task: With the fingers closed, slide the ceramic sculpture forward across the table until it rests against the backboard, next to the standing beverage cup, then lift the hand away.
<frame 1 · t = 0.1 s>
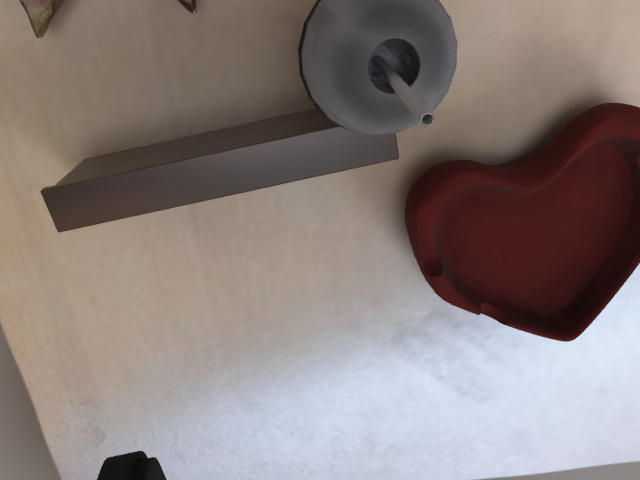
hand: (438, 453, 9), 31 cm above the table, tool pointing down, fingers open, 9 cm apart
backboard: (231, 142, 38), on the table
beverage cup: (346, 38, 36), on the table
ashtray: (523, 224, 43), on the table
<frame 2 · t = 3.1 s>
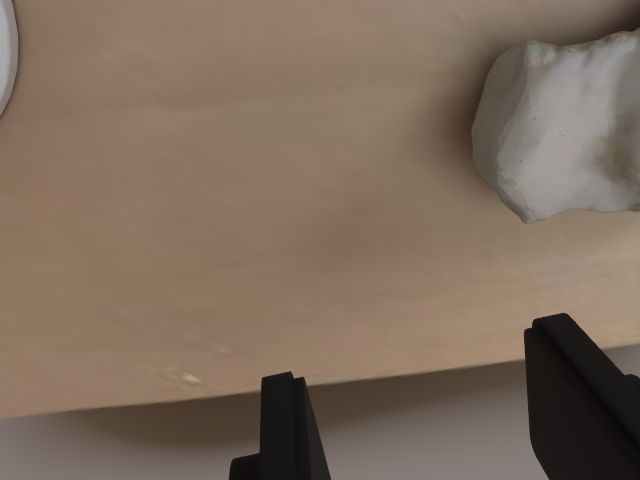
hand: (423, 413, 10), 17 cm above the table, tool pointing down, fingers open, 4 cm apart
ceramic sculpture: (592, 102, 26), on the table
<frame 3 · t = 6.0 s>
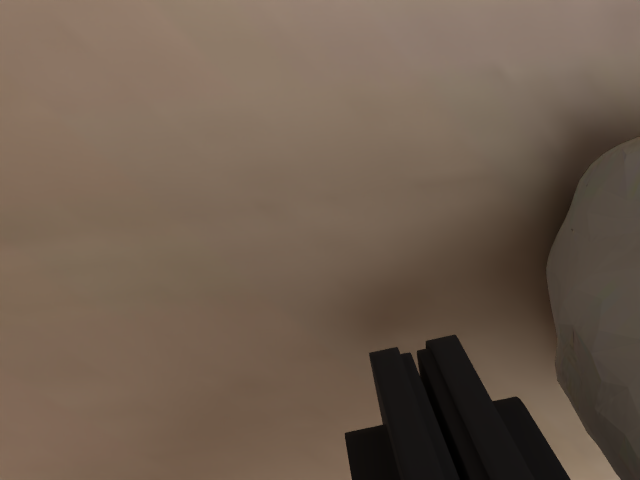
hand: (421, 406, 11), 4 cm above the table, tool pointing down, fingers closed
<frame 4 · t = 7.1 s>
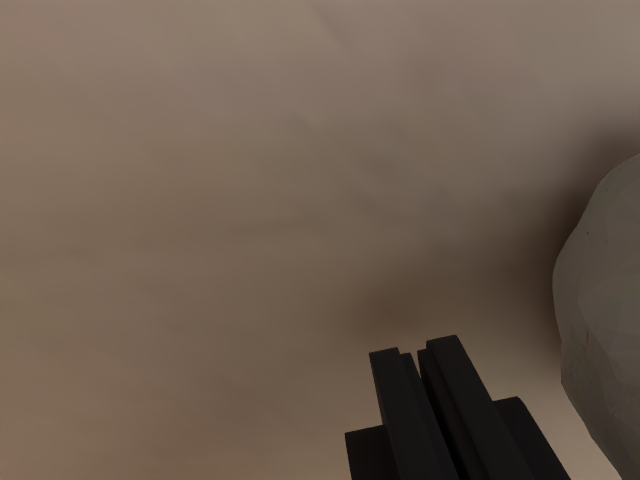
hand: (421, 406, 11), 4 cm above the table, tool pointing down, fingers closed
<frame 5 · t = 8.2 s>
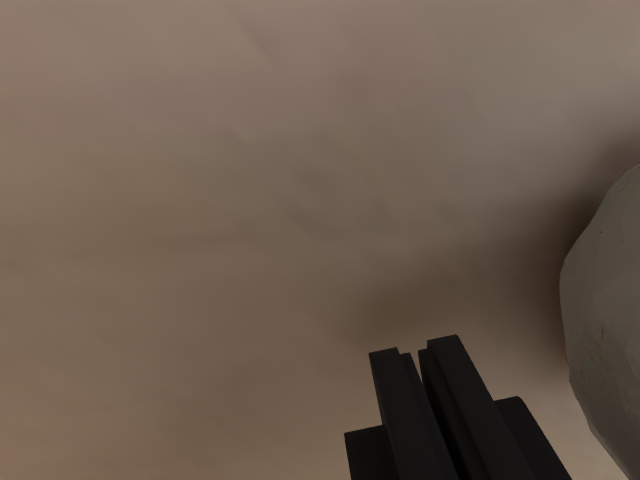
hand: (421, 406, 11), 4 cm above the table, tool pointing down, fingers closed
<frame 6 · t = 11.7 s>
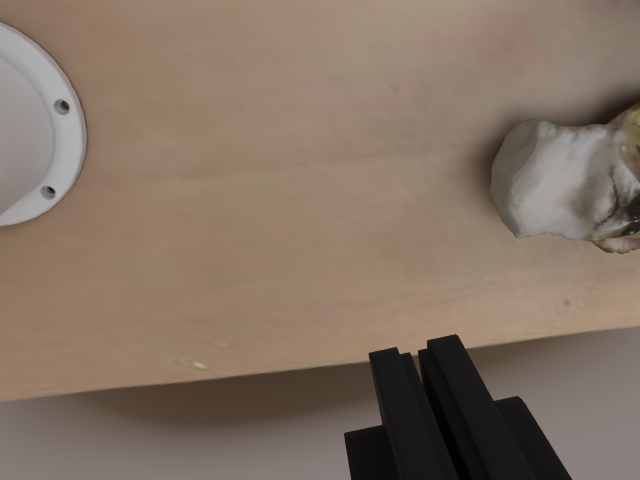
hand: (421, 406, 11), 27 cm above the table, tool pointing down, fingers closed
ceramic sculpture: (571, 164, 38), on the table
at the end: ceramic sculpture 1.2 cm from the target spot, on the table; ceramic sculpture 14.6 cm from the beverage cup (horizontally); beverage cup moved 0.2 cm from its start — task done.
